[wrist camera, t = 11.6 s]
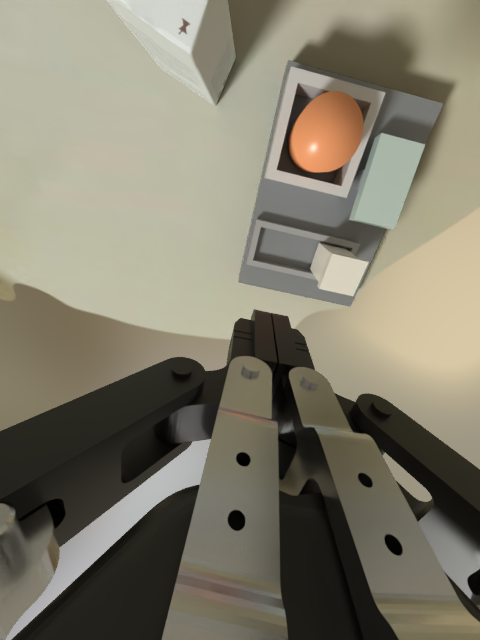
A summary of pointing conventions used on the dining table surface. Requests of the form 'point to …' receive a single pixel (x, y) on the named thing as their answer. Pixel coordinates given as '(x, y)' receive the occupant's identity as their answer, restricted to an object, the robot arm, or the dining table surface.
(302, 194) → the panel
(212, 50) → the skincare box
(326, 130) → the orange piece
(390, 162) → the block
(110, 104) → the dining table surface
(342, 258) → the lever
